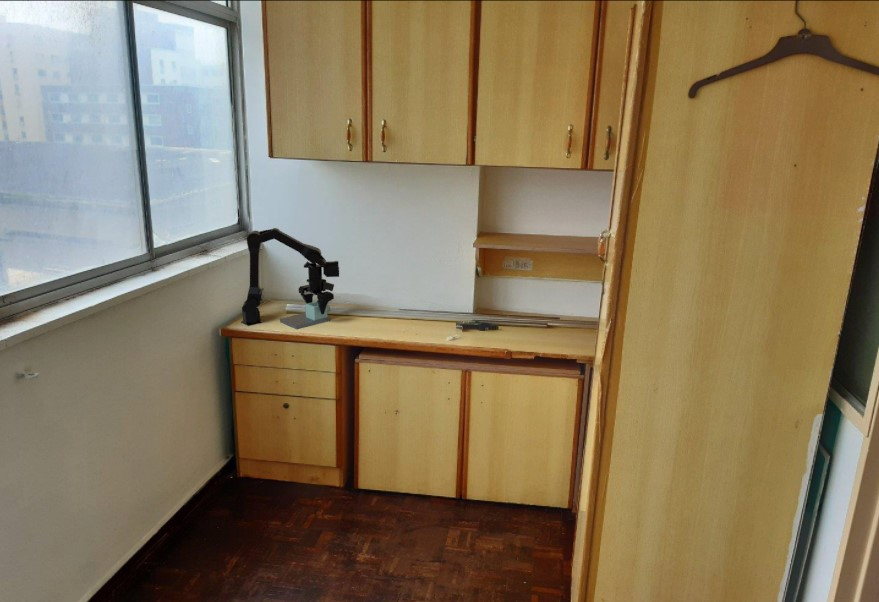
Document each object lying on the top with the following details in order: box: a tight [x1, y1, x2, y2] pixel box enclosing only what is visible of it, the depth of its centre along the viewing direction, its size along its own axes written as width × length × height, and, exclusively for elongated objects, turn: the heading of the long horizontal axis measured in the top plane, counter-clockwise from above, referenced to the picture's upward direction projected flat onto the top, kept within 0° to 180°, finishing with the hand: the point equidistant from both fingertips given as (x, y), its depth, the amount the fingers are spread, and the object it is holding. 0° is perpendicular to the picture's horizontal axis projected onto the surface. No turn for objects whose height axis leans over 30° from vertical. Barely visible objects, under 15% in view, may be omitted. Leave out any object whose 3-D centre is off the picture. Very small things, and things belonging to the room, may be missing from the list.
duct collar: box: [305, 300, 331, 321], centre depth 281 cm, size 7×10×6 cm
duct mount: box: [279, 305, 331, 330], centre depth 279 cm, size 17×13×6 cm
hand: (316, 311), depth 280 cm, fingers open, 9 cm apart
